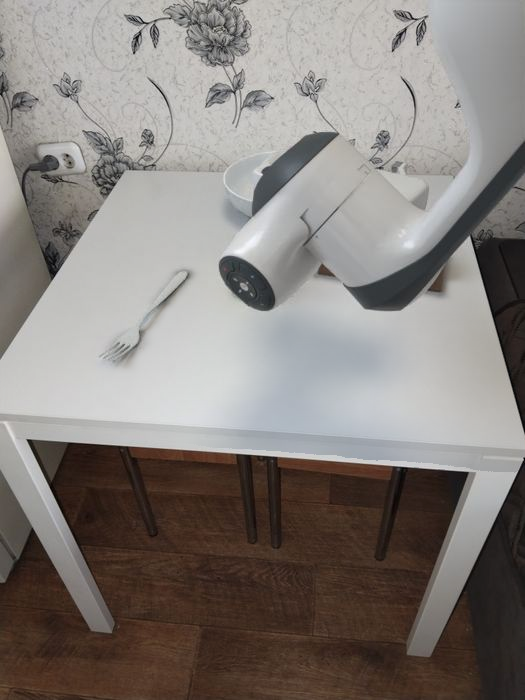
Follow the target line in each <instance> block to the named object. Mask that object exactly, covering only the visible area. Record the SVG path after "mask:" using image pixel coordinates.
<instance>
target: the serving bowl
mask: <svg viewBox="0 0 525 700" xmlns="http://www.w3.org/2000/svg"><path fill="white" fill-rule="evenodd" d="M275 151H276V150H271V151H263V152H259V153H253V154H250V155H248V156H244V157H242V158H240V159H237V160H236V161H235V162H233V163H231V164H230V166H228V167H227V168H226V170H225V171H224V173H223V176H222V182H223V187H224V190H225V191H224V192H225V194H226V196H227V198H228V200H229V201H230V203H231V204H232V206H233V207H235V209H237V210H238V211H239V212H240V213H241V214H243V215H245V216H247V217H249V218H250V219H251V218H252V217H253V216H252V201H253V171H254V170H255V169H256V168H257V167H258V166H261V164H262V162H263V161H264V160H265V159H266V158H267V157H268V156H270V155H271V154H272V153H273V152H275Z"/></svg>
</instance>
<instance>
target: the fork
mask: <svg viewBox="0 0 525 700" xmlns="http://www.w3.org/2000/svg"><path fill="white" fill-rule="evenodd" d="M187 277H188V271H185V270H181V271H179V272H178V273H177V274H175V275H174V277H173V278H172V279H171V280H170V281H169V283H168V284H167V285H166V286H165V288H164V289H163V290H162V291H161V293H160V294H159V295H158V296H157V298H156V299H155V300H154V301H153V303H151V305H150V306H149V307H148V308H147V309H146V310H145V311H144V312H143V314H142V315H141V316H140V317H139V318H138V320H137V321H136V322H135V324H134V325H133V326H132V327H131V328H130V329H129V330H128V331H126V332H125V333H124V334H122V335H121V336H120V337H118V338H117V340H115V342H114V343H113V344H111V346H110V347H108V348H107V349H106V350H105V351H103V352H102V353H100V354H99V355H98V356H97V357H98V358H101V359H103V360H104V359H106V361H109V360H110V362H111V363H114V362H115V361H116V360H118V359H119V358H121V357H123V356H124V355H126V354H127V353H128V352H130V351H131V350H132V349H134V347H136V346H137V344H138V343H139V341H140V339H141V338H140V327H141V324H142V323H143V321H144V320H145V318H146V317H147V316H148V315H150V314H151V312H152V311H153V310H155V309H156V308H157V307H158V306H159V305H160V304H161V303H163V302H164V301H165V300H166V299H167V298H168V297H169V296H170V295H171V294H172V293H173V292H174V291H175V290H176V289H177V288H179V286H180V285H181V284H183V282H184V281H185V280H186V279H187ZM117 350H118V351H117ZM114 352H115V353H114ZM110 355H111V356H110ZM102 356H103V357H102Z"/></svg>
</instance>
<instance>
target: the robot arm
mask: <svg viewBox="0 0 525 700" xmlns="http://www.w3.org/2000/svg"><path fill="white" fill-rule="evenodd" d="M426 2H427V3H426V4H427V5H426V7H427V19H428V23H429V29H430V34H431V38H432V42H433V45H434V48H435V51H436V54H437V56H438V59H439V62H440V64H441V66H442V67H443V69H444V71H445V74H446V76H447V78H448V80H449V82H450V84H451V86H452V88H453V91H454V93H455V95H456V98H457V101H458V103H459V106H460V109H461V112H462V114H463V117H464V121H465V124H466V129H467V133H468V139H469V140H468V141H469V151H468V152H469V153H468V157H467V160H466V162H465V164H464V165H463V166H462V168H461V169H460V170H459V172H458V173H457V174H456V175H455V177H454V178H453V180H452V181H451V182H450V183H449V184H448V186H447V188H446V189H445V190H444V191H443V193H442V194H441V195H440V196H439V198H438V199H437V200H436V202H435V203H434V204H433V206H432V207H431V208H430V210H426V208H427V204H428V199H429V193H430V186H429V184H428V182H427V181H426V180H425V179H422V178H418V177H414V176H411V175H410V176H409V175H407V172H408V167H409V164H408V162H403V161H398V160H395V162H394V163H393V164H392V165H391V168H390V169H391V170H390V171H388V170H382V169H377V168H376V166H375V165H374V164H373V163H372V162H371V161H370V160H369V159H367V157H366V156H365V155H363V153H362V152H361V151H360V150H358V148H356V146H354V145H353V144H352V143H351V142H350V141H348V139H347V138H345V137H344V136H343V135H342V134H340V132H337V131H336V132H335V131H321V132H315V133H310V134H305V135H304V136H303V137H301V138H300V140H298V141H297V142H296V143H295V144H293V145H292V146H291V147H290V148H289V149H288V148H283V149H277V150H274V151H275V152H273V153H272V154H271V155H270V156H268V157H267V158H266V159H265V160H264V161H263V162H262V164H261V166H258V167H257V168H256V169H255V170H254V171H253V201H252V216H253V217H252V218H251V217H250V219H249V220H248V221H247V222H246V223H245V225H243V226H242V228H241V229H240V230H239V231H238V232H237V234H235V236H234V237H233V238H232V239H231V241H230V242H229V243H228V244H227V246H226V248H225V249H224V251H223V252H222V253H221V255H220V257H219V259H218V272H219V275H220V277H221V279H222V281H223V283H224V285H225V286H226V287H227V289H228V290H229V291H230V292H231V293H232V294H233V295H234V296H235V297H236V298H238V299H239V300H240V301H241V302H242V303H243V304H245V306H247V307H250V308H251V309H253V310H256V311H260V312H271V311H274V310H275V309H277V308H279V307H280V306H281V305H282V304H284V303H286V302H287V301H288V300H289V299H290V298H291V297H292V296H294V295H295V294H296V293H297V292H298V291H299V290H301V288H302V287H304V286H305V284H306V283H307V282H308V281H309V280H310V279H311V278H312V277H313V276H314V275H315V274H316V273H317V272H318V269H319V267H320V265H321V263H322V264H324V265H325V266H326V267H327V268H328V269H329V270H330V271H331V272H332V273H333V274H334V275H335V276H334V277H336V278H337V279H338V280H339V281H340V282H341V283H342V285H343V287H344V288H345V289H346V290H347V291H348V292H349V293H350V295H352V297H353V298H354V299H355V300H356V301H357V302H358V304H359V305H360V307H362V308H363V310H367V311H375V312H401V311H402V310H404V309H405V308H407V307H409V306H411V305H412V304H413V303H415V302H416V301H418V300H419V299H420V298H421V297H422V296H423V295H424V294H425V293H426V292H427V291H429V290H428V289H429V287H430V286H431V285H432V284H433V282H434V281H435V280H436V278H437V277H438V275H439V274H440V272H441V270H442V268H443V267H444V268H445V265H446V264H447V261H448V260H450V258H451V257H452V256H453V255H454V254H455V253H456V251H457V250H458V249H459V248H460V247H461V246H462V244H464V242H466V240H468V238H469V237H470V236H471V235H472V234H473V232H475V230H476V229H477V228H478V227H479V226H480V225H481V224H482V223H483V222H484V220H485V219H486V218H487V217H488V215H490V213H491V212H492V211H494V209H495V208H496V207H497V206H498V205H499V204H500V203H501V201H502V200H503V199H505V197H506V196H507V195H508V194H509V193H510V191H511V190H512V189H513V188H514V187H515V186H516V185H517V184H518V183H519V181H520V180H521V179H522V178H523V177H524V175H525V0H426Z"/></svg>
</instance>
